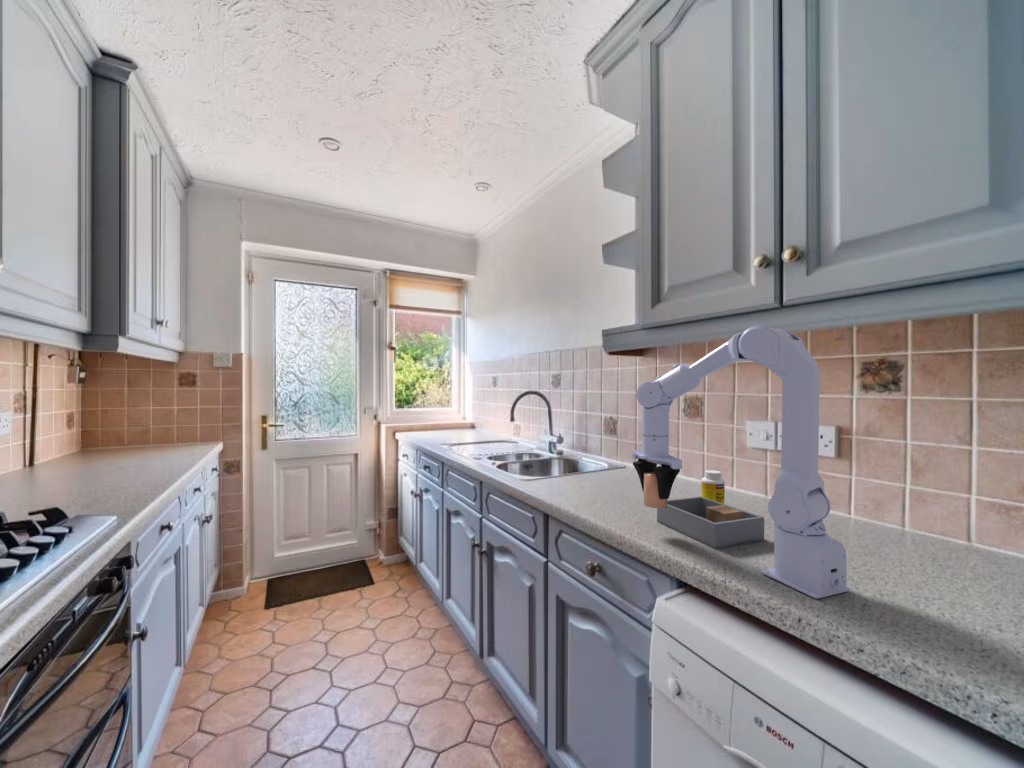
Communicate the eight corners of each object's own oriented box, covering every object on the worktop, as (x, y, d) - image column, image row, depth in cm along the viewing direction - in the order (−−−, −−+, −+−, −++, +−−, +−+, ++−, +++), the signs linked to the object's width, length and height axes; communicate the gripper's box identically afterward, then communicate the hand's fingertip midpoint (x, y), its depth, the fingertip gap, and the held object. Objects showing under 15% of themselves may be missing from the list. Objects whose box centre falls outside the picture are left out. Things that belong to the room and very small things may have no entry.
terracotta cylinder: (672, 507, 91) (672, 475, 91) (652, 509, 89) (652, 477, 89) (658, 500, 96) (658, 470, 96) (639, 502, 94) (639, 472, 94)
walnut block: (741, 534, 90) (741, 511, 90) (724, 536, 88) (724, 513, 88) (722, 526, 95) (723, 505, 95) (706, 529, 93) (706, 507, 93)
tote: (764, 540, 88) (764, 517, 88) (715, 549, 83) (715, 524, 83) (700, 516, 104) (701, 496, 104) (657, 521, 100) (657, 501, 100)
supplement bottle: (717, 514, 106) (717, 474, 106) (697, 508, 111) (697, 470, 111) (728, 510, 109) (728, 472, 109) (708, 505, 114) (708, 468, 114)
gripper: (621, 432, 98) (621, 489, 98) (662, 439, 84) (663, 505, 84) (646, 431, 101) (646, 486, 100) (690, 438, 87) (690, 502, 87)
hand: (655, 495), depth 93 cm, fingers closed on terracotta cylinder, 5 cm apart
